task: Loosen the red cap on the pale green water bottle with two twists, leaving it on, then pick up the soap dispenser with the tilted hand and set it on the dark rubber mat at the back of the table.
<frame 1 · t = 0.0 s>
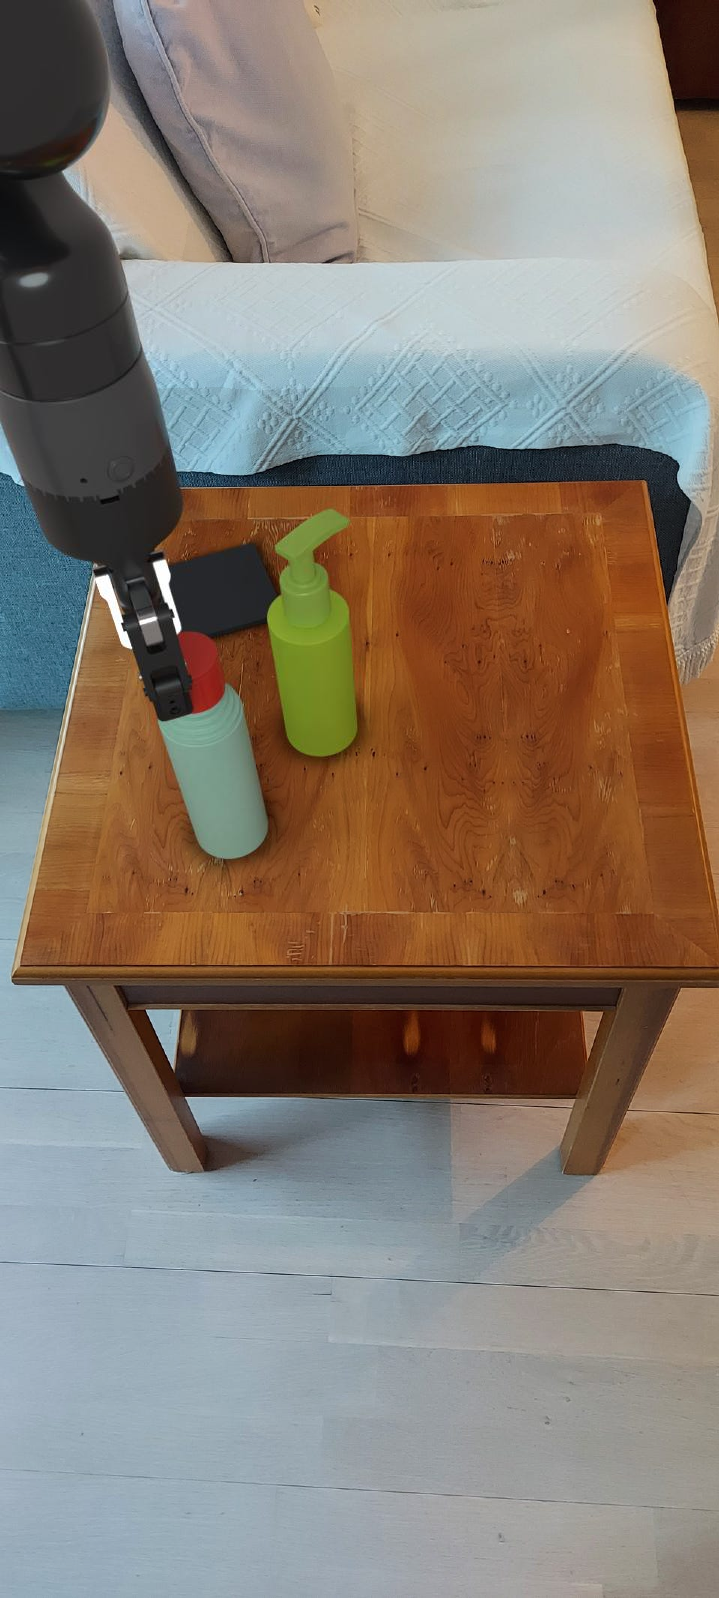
hand: (159, 664, 62), 18 cm above the table, tool pointing down, fingers open, 8 cm apart
soap dispenser: (326, 725, 82), on the table
bottle: (232, 828, 77), on the table
mat: (217, 595, 91), on the table
cap: (185, 659, 61), point 19 cm above the table, screwed on, not yet turned
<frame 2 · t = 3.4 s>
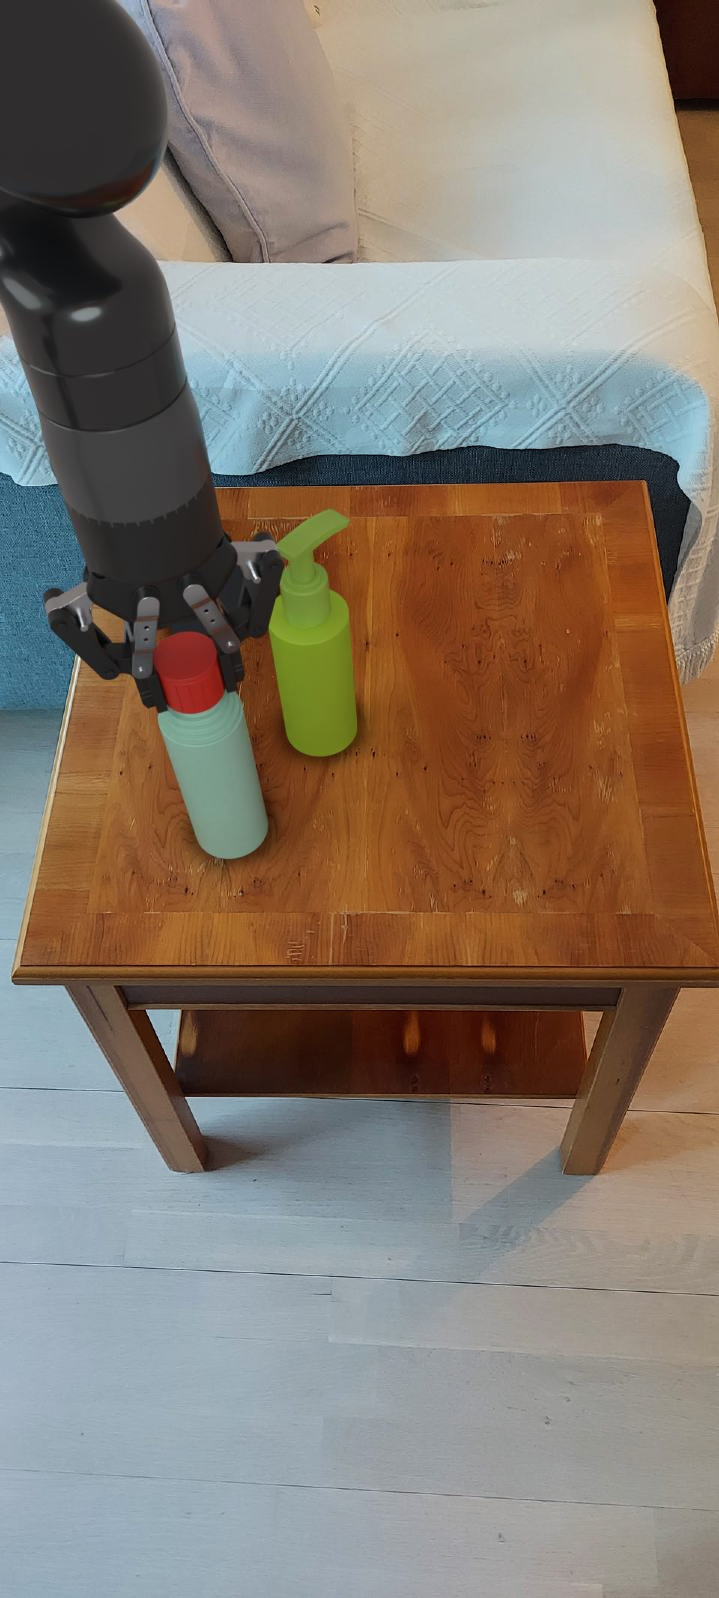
hand: (195, 691, 64), 16 cm above the table, tool pointing down, fingers closed on cap, 4 cm apart
cap: (185, 659, 61), point 19 cm above the table, screwed on, not yet turned, touching gripper
everything else where it was.
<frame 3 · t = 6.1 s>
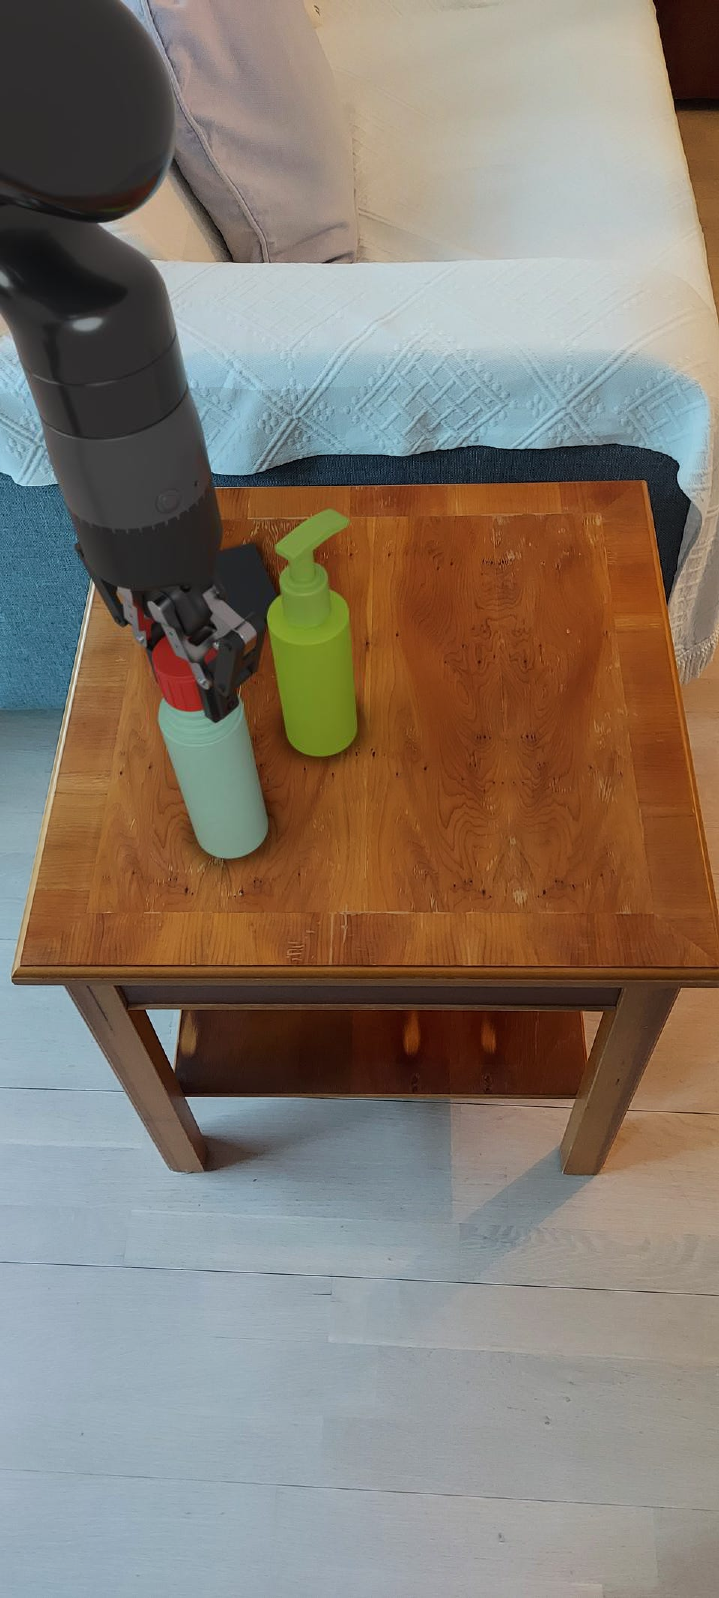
hand: (197, 694, 64), 16 cm above the table, tool pointing down, fingers closed on cap, 4 cm apart
bottle: (232, 827, 77), on the table, touching gripper
cap: (185, 657, 61), point 19 cm above the table, turned 120° so far, risen 0.1 cm, still on its thread, touching gripper
everything else where it was.
when the fingers open (16 cm above the table, at t = 9.1 s): cap stays where it is, point 19 cm above the table.
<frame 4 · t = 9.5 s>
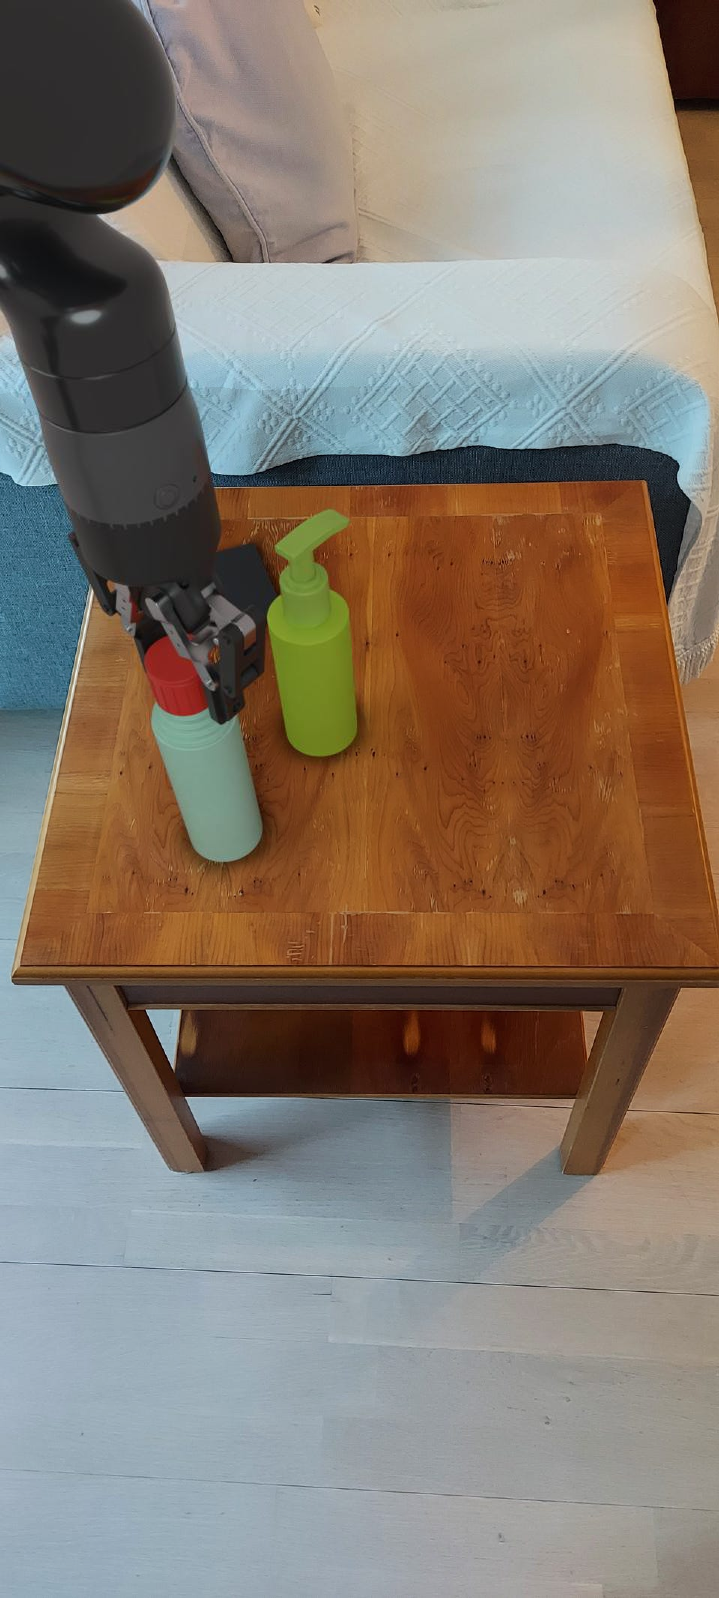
hand: (194, 690, 64), 16 cm above the table, tool pointing down, fingers open, 5 cm apart
bottle: (226, 831, 77), on the table
cap: (178, 661, 61), point 19 cm above the table, turned 120° so far, risen 0.1 cm, still on its thread
everything else where it was.
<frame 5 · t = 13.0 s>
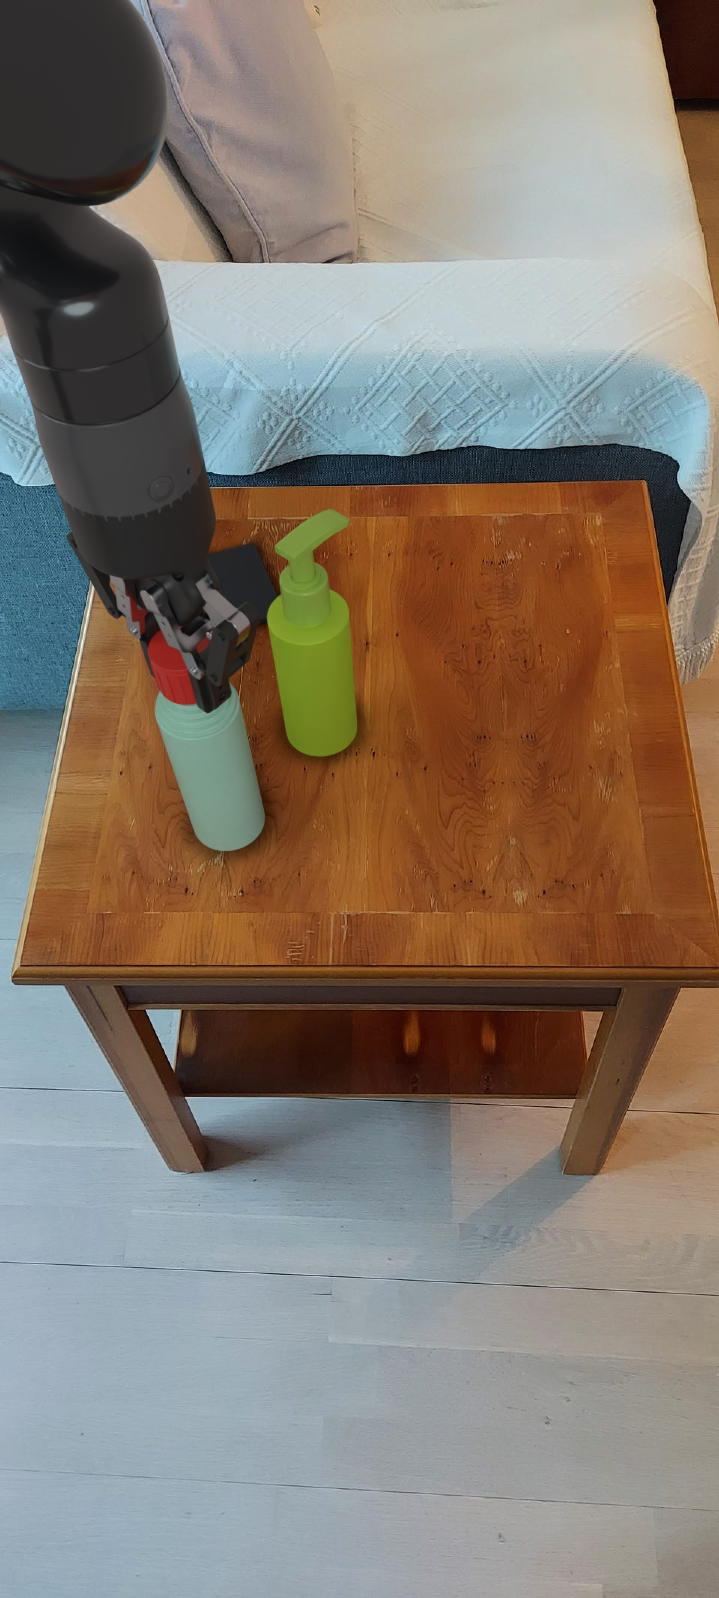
hand: (190, 685, 64), 16 cm above the table, tool pointing down, fingers closed on cap, 3 cm apart
cap: (181, 650, 61), point 19 cm above the table, turned 234° so far, risen 0.2 cm, still on its thread, touching gripper
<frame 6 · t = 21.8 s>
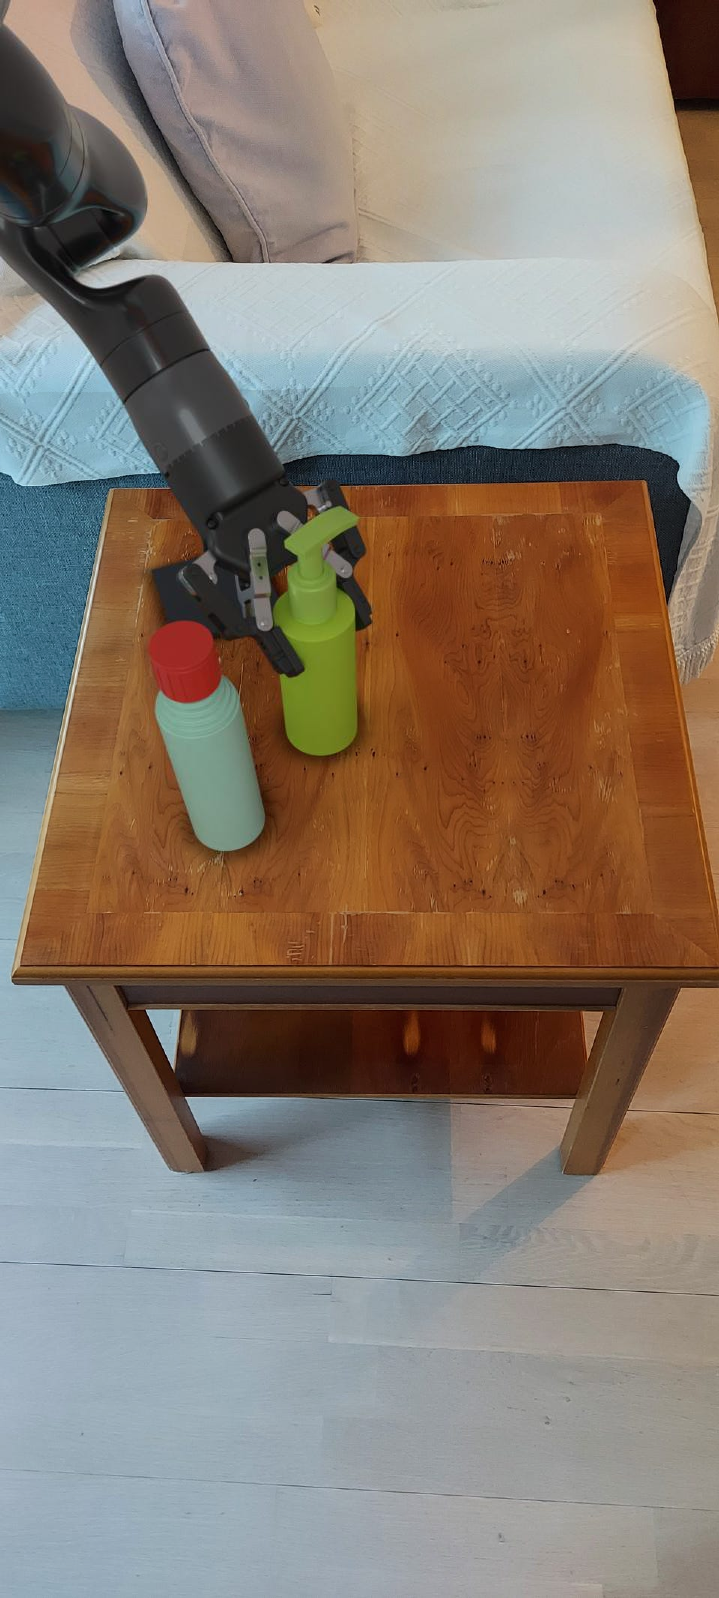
hand: (330, 650, 73), 10 cm above the table, tool tilted 45°, fingers closed on soap dispenser, 6 cm apart
soap dispenser: (326, 725, 82), on the table, touching gripper
cap: (181, 648, 61), point 19 cm above the table, turned 234° so far, risen 0.2 cm, still on its thread
everything else where it was.
when the fingers open (11 cm above the table, at t = 30.2 s): soap dispenser stays where it is, resting on mat.
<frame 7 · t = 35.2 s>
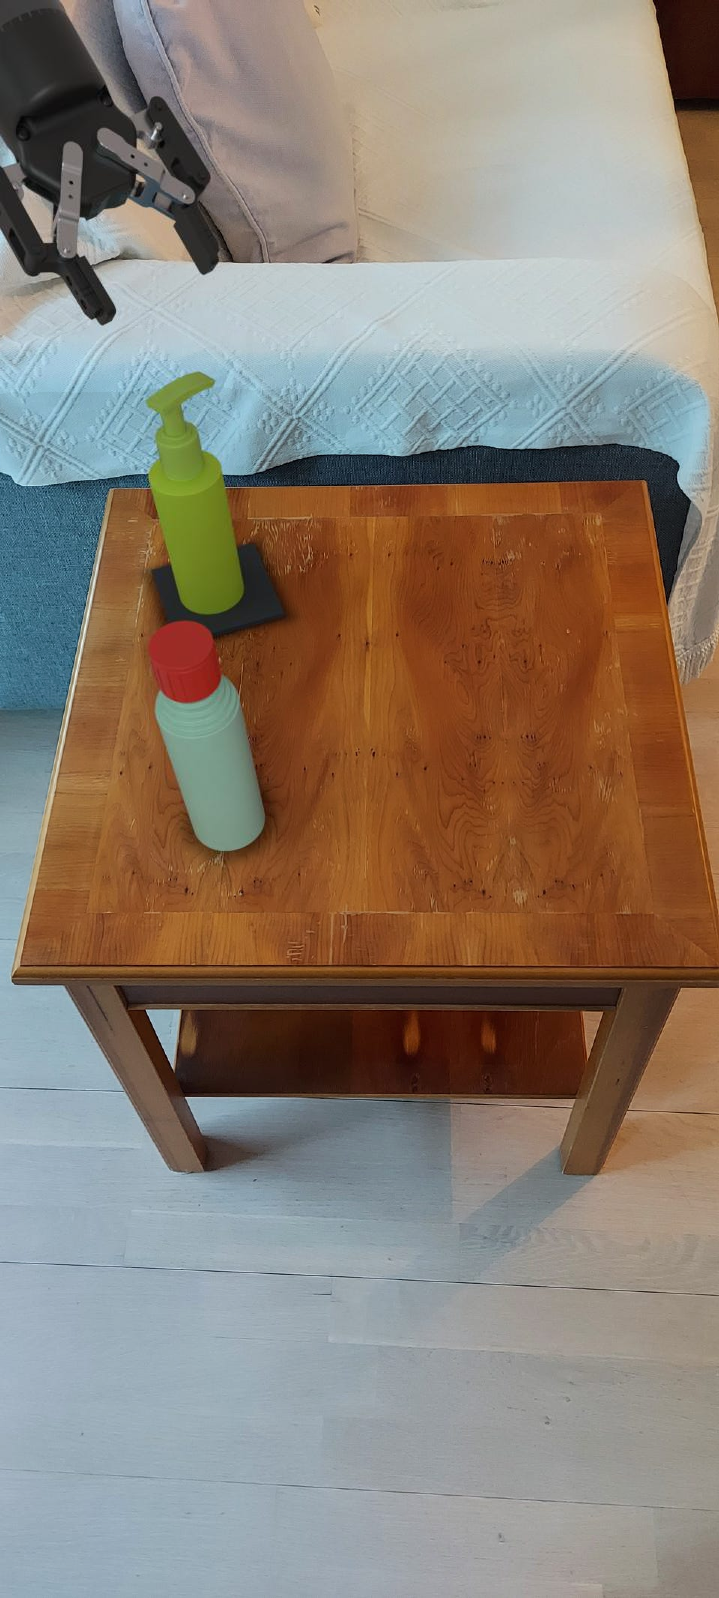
hand: (161, 293, 67), 29 cm above the table, tool tilted 45°, fingers open, 8 cm apart
soap dispenser: (216, 589, 91), resting on mat
everything else where it was.
at the end: cap turned 0.65 turns (still on its thread); cap is still on its thread (0.65 turns); soap dispenser inside the target area on the mat (0.3 cm from its centre), point 0.4 cm above the mat's base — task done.
